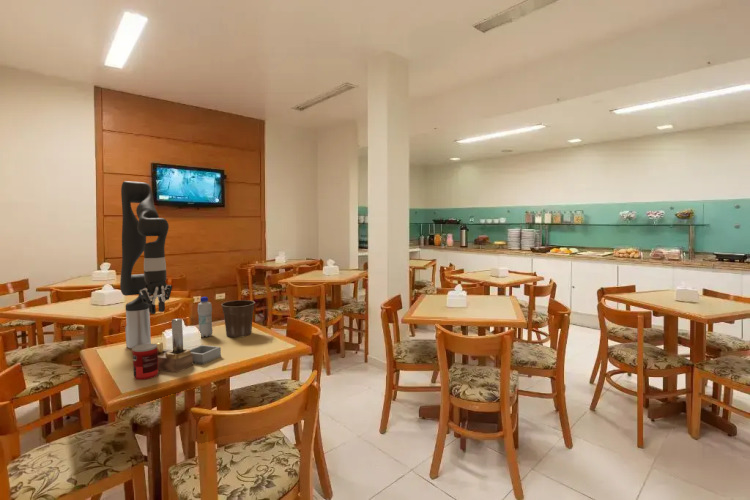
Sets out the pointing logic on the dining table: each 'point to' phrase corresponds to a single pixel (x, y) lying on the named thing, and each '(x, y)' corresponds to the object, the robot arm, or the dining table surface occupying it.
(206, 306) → the bottle
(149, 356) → the canned food
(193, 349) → the tray
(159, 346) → the release plunger
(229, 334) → the plant pot
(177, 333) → the rod
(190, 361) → the socket block
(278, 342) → the dining table surface
